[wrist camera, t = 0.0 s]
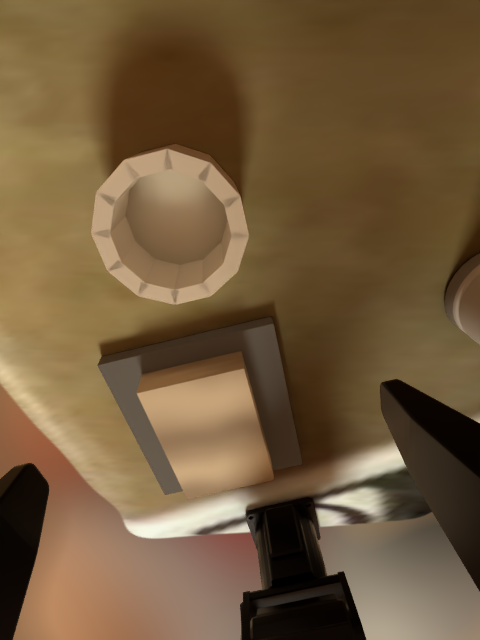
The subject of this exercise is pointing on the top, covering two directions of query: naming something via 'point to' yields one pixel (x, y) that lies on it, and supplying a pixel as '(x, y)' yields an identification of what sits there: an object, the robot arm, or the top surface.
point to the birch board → (208, 424)
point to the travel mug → (465, 298)
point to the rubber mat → (245, 337)
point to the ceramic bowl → (170, 224)
